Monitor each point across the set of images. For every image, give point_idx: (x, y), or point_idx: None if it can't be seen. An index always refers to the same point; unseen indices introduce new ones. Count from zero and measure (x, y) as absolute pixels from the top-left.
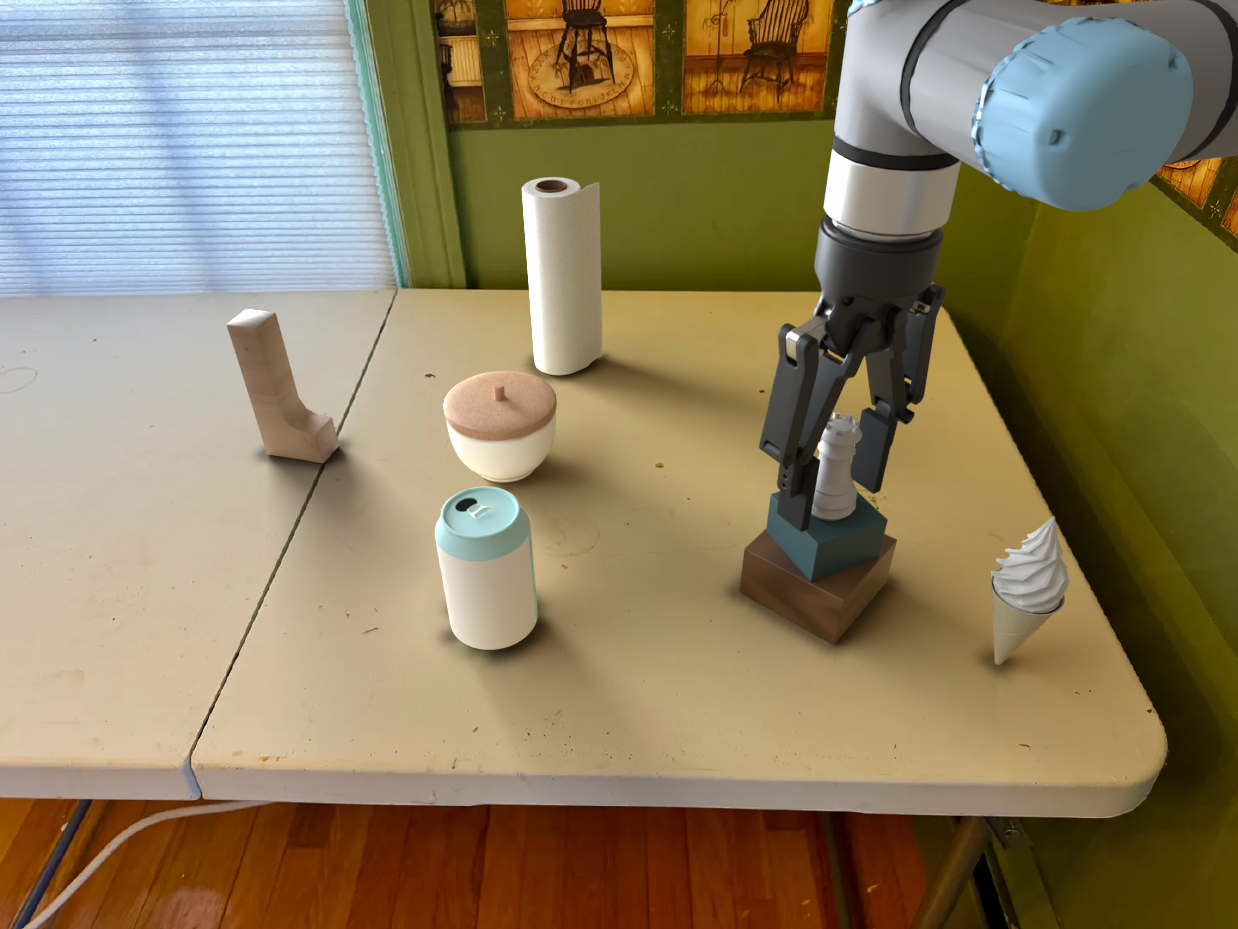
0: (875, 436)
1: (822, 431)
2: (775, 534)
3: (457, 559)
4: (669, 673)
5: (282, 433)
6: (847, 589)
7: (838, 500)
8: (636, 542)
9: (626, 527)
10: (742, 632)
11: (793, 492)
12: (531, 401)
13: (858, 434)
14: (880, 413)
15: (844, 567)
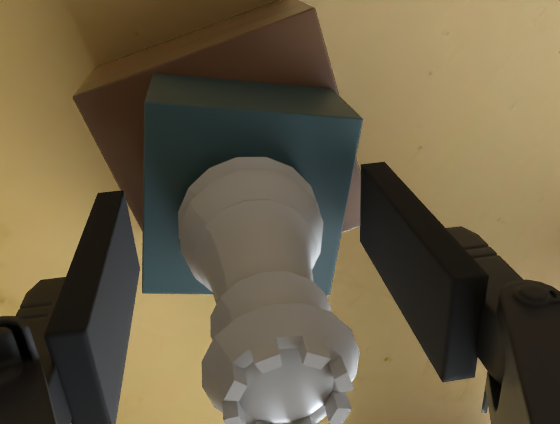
0: (106, 324)
1: (530, 370)
2: None
3: None
4: (539, 91)
5: None
6: (282, 31)
7: (277, 191)
8: (400, 324)
9: (392, 354)
10: (397, 103)
11: (465, 235)
12: None
13: (253, 333)
14: (63, 399)
15: (250, 82)
